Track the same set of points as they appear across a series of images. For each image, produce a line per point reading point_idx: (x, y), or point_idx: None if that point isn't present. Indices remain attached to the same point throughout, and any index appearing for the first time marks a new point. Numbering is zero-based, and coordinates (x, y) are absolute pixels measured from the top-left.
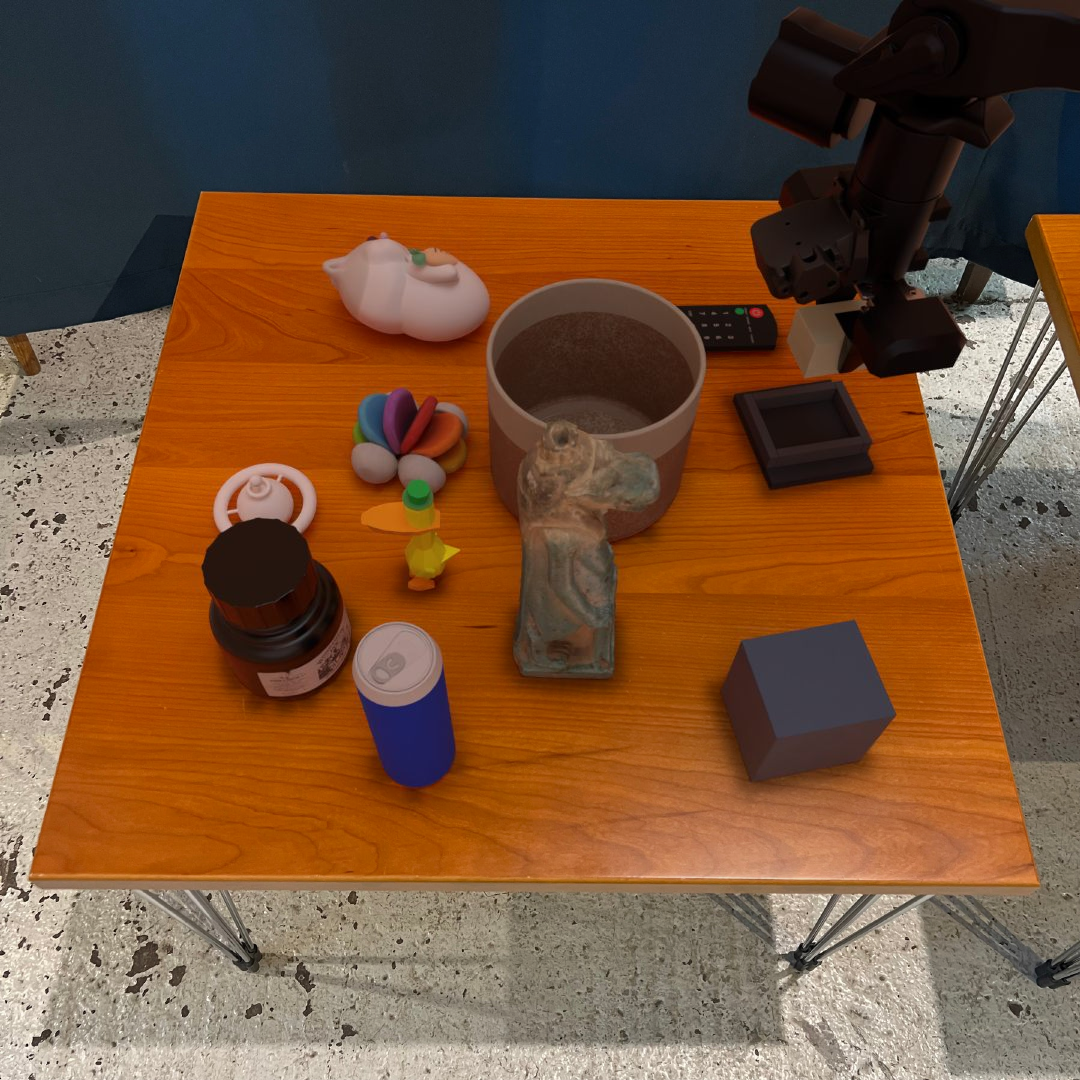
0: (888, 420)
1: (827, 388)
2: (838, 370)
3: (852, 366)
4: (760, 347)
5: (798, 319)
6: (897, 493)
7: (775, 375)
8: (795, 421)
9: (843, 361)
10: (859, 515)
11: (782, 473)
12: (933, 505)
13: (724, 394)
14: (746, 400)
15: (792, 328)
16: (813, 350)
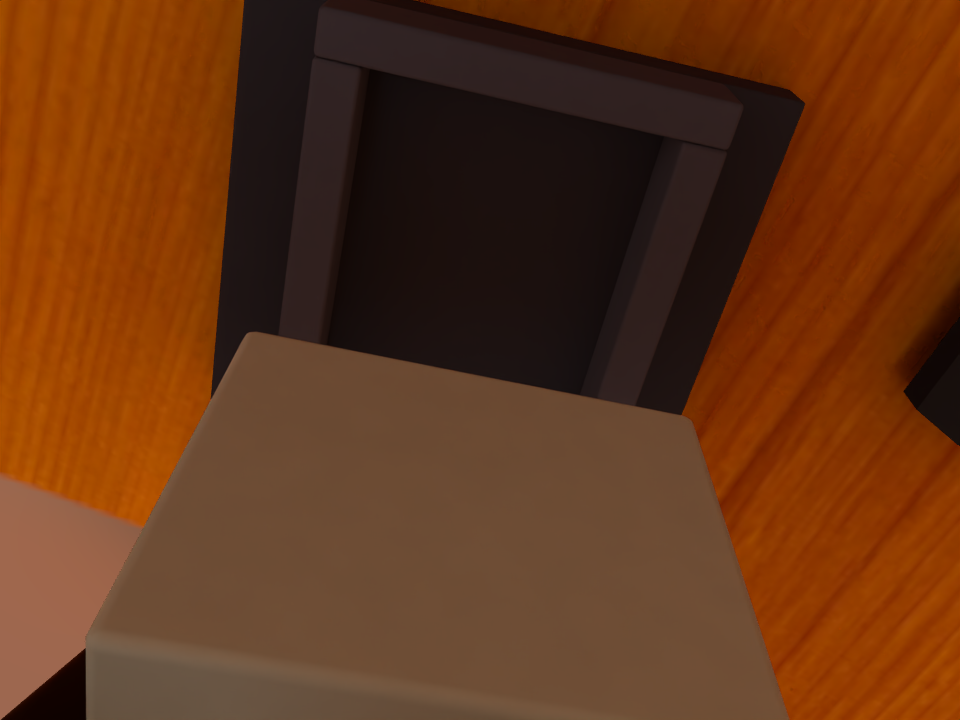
0: None
1: None
2: None
3: None
4: (951, 350)
5: (663, 663)
6: (120, 414)
7: (802, 333)
8: (529, 266)
9: (46, 692)
10: (51, 246)
11: (284, 51)
12: (47, 481)
13: (844, 77)
14: (703, 100)
15: (689, 530)
16: (135, 561)
